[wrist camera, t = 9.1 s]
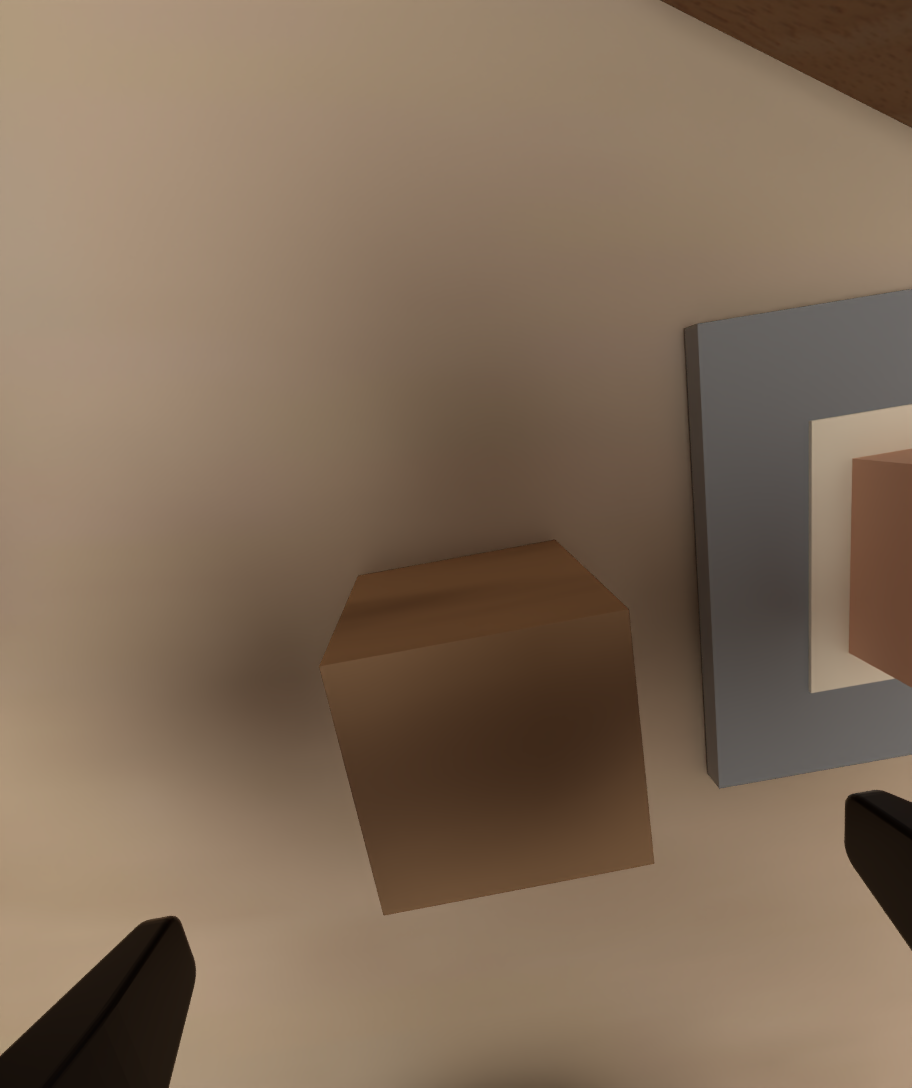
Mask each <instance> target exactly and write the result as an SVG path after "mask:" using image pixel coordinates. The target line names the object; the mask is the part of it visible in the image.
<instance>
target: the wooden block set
mask: <svg viewBox="0 0 912 1088" xmlns="http://www.w3.org/2000/svg"><path fill="white" fill-rule="evenodd" d="M661 1H663V2H665V3H667V4H669V5H671V6H673V7H675V8H677V9H679V10H681V11H682V12H684V13H686V14H688V15H690V16H692V17H694V18H696V19H698V20H700V21H702V22H704V23H706V24H708V25H710V26H712V27H714V28H716V29H718V30H720V31H722V32H724V33H726V34H728V35H730V36H732V37H734V38H736V39H738V40H740V41H742V42H744V43H746V44H748V45H750V46H752V47H754V48H756V49H758V50H760V51H761V52H763V53H765V54H767V55H769V56H771V57H773V58H775V59H777V60H779V61H781V62H783V63H785V64H787V65H789V66H791V67H793V68H795V69H797V70H799V71H801V72H803V73H805V74H807V75H809V76H811V77H813V78H815V79H817V80H819V81H821V82H823V83H825V84H827V85H829V86H831V87H833V88H835V89H837V90H839V91H840V92H842V93H844V94H846V95H848V96H850V97H852V98H854V99H856V100H858V101H860V102H862V103H864V104H866V105H868V106H870V107H872V108H874V109H876V110H878V111H880V112H882V113H884V114H886V115H888V116H890V117H892V118H894V119H896V120H898V121H900V122H902V123H904V124H906V125H908V126H910V127H912V0H661Z"/></svg>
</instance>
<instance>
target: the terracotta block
mask: <svg viewBox="0 0 912 1088" xmlns="http://www.w3.org/2000/svg"><path fill="white" fill-rule="evenodd" d="M849 653H850V654H852V655H854V656H855V657H857V658H859V659H861V660H863V661H864V662H866V663H868V664H870V665H872V666H874V667H875V668H877V669H879V670H881V671H883V672H884V673H886V674H888V675H890V676H892V677H893V678H895V679H897V680H899V681H901V682H902V683H904V684H906V685H908V686H910V687H911V688H912V449H906V450H900V451H894V452H888V453H883V454H877V455H871V456H865V457H859V458H853V459H852V506H851V559H850V612H849Z"/></svg>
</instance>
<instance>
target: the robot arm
mask: <svg viewBox="0 0 912 1088" xmlns="http://www.w3.org/2000/svg"><path fill="white" fill-rule="evenodd" d="M844 843H845V849H846V853H847V855H848V858H849V860H850V862H851V864H852V865H853V867H854V868H855V870H856V871H857V873H858V874H859V876H860V877H861V878H862V880H863V881H864V883H865V884H866V886H867V887H868V888H869V890H870V891H871V893H872V894H873V896H874V897H875V898H876V900H877V901H878V903H879V904H880V906H881V907H882V908H883V910H884V911H885V913H886V914H887V916H888V917H889V919H890V920H891V921H892V923H893V924H894V926H895V927H896V929H897V930H898V931H899V933H900V934H901V936H902V937H903V939H904V940H905V941H906V943H907V944H908V946H909V947H910V949H911V950H912V802H909V801H907V800H905V799H902V798H900V797H897V796H895V795H892V794H890V793H888V792H885V791H881V790H872V791H866V792H861V793H855V794H851V795H849V796H848V798H847V799H846V801H845V837H844ZM195 977H196V966H195V961H194V957H193V955H192V952H191V949H190V946H189V943H188V940H187V938H186V935H185V932H184V929H183V926H182V924H181V921H180V920H179V919H178V918H177V917H176V916H167V917H161V918H156V919H150V920H147V921H144V922H142V923H141V924H139V925H138V926H137V927H136V928H135V929H134V930H133V931H132V932H131V933H129V934H128V935H127V936H126V937H125V938H124V939H123V940H122V941H121V942H120V943H119V944H118V945H117V946H116V947H115V948H114V949H113V950H112V951H110V952H109V953H108V954H107V955H106V956H105V957H104V958H103V959H102V960H101V961H100V962H99V963H98V964H97V965H96V966H95V967H94V968H93V969H91V970H90V971H89V972H88V973H87V974H86V975H85V976H84V977H83V978H82V979H81V980H80V981H79V982H78V983H77V984H76V985H75V986H74V987H72V988H71V989H70V990H69V991H68V992H67V993H66V994H65V995H64V996H63V997H62V998H61V999H60V1000H59V1001H58V1002H57V1003H56V1004H55V1005H53V1006H52V1007H51V1008H50V1009H49V1010H48V1011H47V1012H46V1013H45V1014H44V1015H43V1016H42V1017H41V1018H40V1019H39V1020H38V1021H37V1022H36V1023H34V1024H33V1025H32V1026H31V1027H30V1028H29V1029H28V1030H27V1031H26V1032H25V1033H24V1034H23V1035H22V1036H21V1037H20V1038H19V1039H18V1040H17V1041H15V1042H14V1043H13V1044H12V1045H11V1046H10V1047H9V1048H8V1049H7V1050H6V1051H5V1052H4V1053H3V1054H2V1055H1V1056H0V1088H169V1084H170V1080H171V1076H172V1072H173V1068H174V1064H175V1060H176V1056H177V1053H178V1049H179V1045H180V1041H181V1037H182V1033H183V1029H184V1025H185V1021H186V1017H187V1013H188V1009H189V1005H190V1001H191V997H192V993H193V989H194V984H195Z"/></svg>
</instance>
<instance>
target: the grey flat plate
mask: <svg viewBox="0 0 912 1088" xmlns="http://www.w3.org/2000/svg"><path fill="white" fill-rule="evenodd" d="M685 348H686V367H687V386H688V405H689V424H690V443H691V462H692V481H693V500H694V519H695V538H696V558H697V577H698V596H699V615H700V634H701V653H702V672H703V691H704V710H705V729H706V748H707V767H708V775H709V776H710V777H711V779H712V780H713V781H714V783H715V784H716V785H717V786H718V788H719V789H720V788H725V787H731V786H737V785H742V784H748V783H753V782H759V781H765V780H770V779H776V778H782V777H787V776H793V775H799V774H804V773H810V772H816V771H821V770H827V769H833V768H838V767H844V766H850V765H855V764H861V763H867V762H872V761H878V760H884V759H889V758H895V757H900V756H906V755H912V688H911V687H910V686H908V685H906V684H904V683H902V682H901V681H899V680H897V679H895V678H893V677H892V676H890V675H888V674H886V673H884V672H883V671H881V670H879V669H877V668H875V667H874V666H872V665H870V664H868V663H866V662H864V661H863V660H861V659H859V658H857V657H855V656H854V655H852V654H850V653H849V612H850V559H851V506H852V459H853V458H859V457H865V456H871V455H877V454H883V453H888V452H894V451H900V450H906V449H912V289H908V290H902V291H896V292H890V293H884V294H878V295H872V296H866V297H859V298H853V299H847V300H841V301H835V302H829V303H823V304H816V305H810V306H804V307H798V308H792V309H786V310H780V311H774V312H767V313H761V314H755V315H749V316H743V317H737V318H731V319H725V320H718V321H712V322H706V323H700V324H696V325H693V326H690V327H687V328H685Z"/></svg>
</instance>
